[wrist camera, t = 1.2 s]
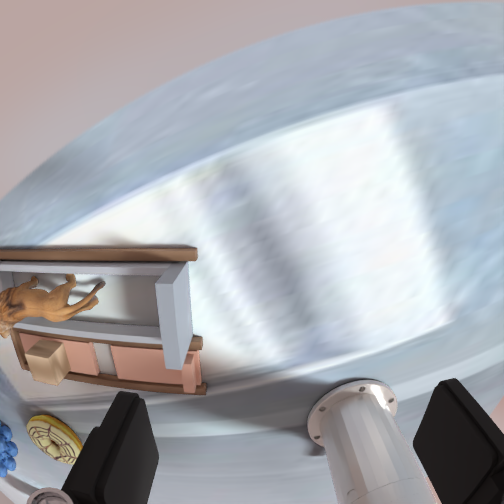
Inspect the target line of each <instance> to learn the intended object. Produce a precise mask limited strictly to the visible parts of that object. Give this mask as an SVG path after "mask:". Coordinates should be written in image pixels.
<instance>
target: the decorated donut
mask: <svg viewBox="0 0 504 504" xmlns="http://www.w3.org/2000/svg"><path fill="white" fill-rule="evenodd" d="M26 427H27V432H28V434H29V436H30V438H31V440H32V441H33V443H34V444H35V445H36V446H37V447H38V448H39V449H41V450H42V451H43V452H44V453H46V454H47V455H48V456H50V457H51V458H53V459H55V460H57V461H60V462H63V463H67V464H74V463H75V461H76V459H77V457H78V455H79V453H80V451H81V449H82V448H83V446H82V443H81V441H80V440H79V439H78V437H77V435H76V434H75V433H74V432H73V430H72V429H71V428H70V427H68V426H67V425H66V424H64V423H63V422H61V421H60V420H58V419H56V418H54V417H52V416H49V415H39V416H34V417H32V418H31V419H30V420H29V422H28V424H27V426H26Z"/></svg>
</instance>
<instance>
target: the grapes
mask: <svg viewBox="0 0 504 504" xmlns="http://www.w3.org/2000/svg"><path fill="white" fill-rule="evenodd" d="M11 438H12V432H11V430H10V429H9V427H7V426H5V425H4V426H2V427H1V421H0V477H6V475H7V469H8V470H10V471H14V470H15V468H16V462H15V460H14V458H13V457H15V456H16V455H17V453H18V449H17V446H16V444H15V443H14V442H12V441H10V440H11Z"/></svg>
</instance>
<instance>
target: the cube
mask: <svg viewBox="0 0 504 504" xmlns="http://www.w3.org/2000/svg"><path fill="white" fill-rule="evenodd" d="M25 357H26V360H27V362H28V365H29V368H30V371H31V374H32V376H33V379H34V380H35V381H39V382H43V383H47V384H51V385H56V386H58V385H59V384H60V382H61V381H62V380H63V378H64V377H65V376H66V375H67V373H68V372H69V371H70V370H71V367H70V364H69V361H68V357H67V354H66V350H65V347H64V343H62V342H55V341H49V340H43V339H40V340H39V341H38V342H37V343H35V344H34V345H33V346H32V347H31V348H30V349H29V350H28V351H27V352H26V353H25Z"/></svg>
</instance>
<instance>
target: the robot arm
mask: <svg viewBox="0 0 504 504" xmlns="http://www.w3.org/2000/svg"><path fill="white" fill-rule="evenodd" d="M396 411H397V399H396V396H395V394H394V392H393V391H392V389H391V388H390V387H389V386H388V385H386V384H384V383H382V382H379V381H375V380H359V381H354V382H350V383H347V384H344V385H341V386H339V387H337V388H335V389H333V390H332V391H330V392H329V393H327V394H326V395H324V396H323V397H322V398H321V399H320V400H319V401H318V402H317V403H316V404H315V405H314V406H313V408H312V410H311V411H310V413H309V416H308V420H307V428H308V432H309V435H310V437H311V439H312V440H313V441H314V442H315V443H317V444H318V445H320V446H323V447H324V448H325V451H326V455H327V459H328V463H329V467H330V471H331V475H332V479H333V484H334V488H335V492H336V496H337V500H338V504H438V503H437V501H436V499H435V497H434V495H433V493H432V491H431V489H430V487H429V485H428V483H427V481H426V479H425V477H424V475H423V473H422V471H421V469H420V467H419V465H418V463H417V461H416V459H415V457H414V455H413V453H412V451H411V449H410V447H409V445H408V443H407V442H406V440H405V438H404V436H403V434H402V432H401V430H400V428H399V426H398V425H397V423H396V421H395V419H394V416H395V414H396ZM413 447H414V450H415V452H416V454H417V456H418V457H419V459H420V461H421V463H422V465H423V467H424V469H425V471H426V473H427V475H428V477H429V479H430V481H431V483H432V485H433V487H434V489H435V491H436V493H437V495H438V497H439V499H440V501H441V503H442V504H504V434H503V433H502V432H501V430H500V429H499V428H498V427H497V425H496V424H495V423H494V422H493V421H492V419H491V418H490V417H489V416H488V414H487V413H486V412H485V411H484V410H483V408H482V407H481V406H480V405H479V404H478V403H477V401H476V400H475V399H474V398H473V397H472V396H471V394H470V393H469V392H468V391H467V390H466V389H465V387H464V386H463V385H462V384H461V383H460V382H459V381H458V380H457V379H456V378H453V379H448V380H444V381H440V382H439V384H438V386H436V387H435V389H434V391H433V394H432V396H431V399H430V402H429V404H428V407H427V409H426V412H425V414H424V417H423V419H422V421H421V424H420V426H419V428H418V431H417V433H416V435H415V437H414V440H413ZM158 460H159V454H158V450H157V446H156V443H155V439H154V436H153V432H152V428H151V424H150V420H149V417H148V412H147V408H146V404H145V401H144V399H142V398H139V395H138V394H137V393H130V392H123V391H120V392H118V394H117V395H116V397H115V399H114V401H113V403H112V405H111V407H110V408H109V410H108V412H107V414H106V416H105V418H104V420H103V422H102V424H101V426H100V427H95V428H93V430H92V431H91V433H90V434H89V436H88V438H87V440H86V442H85V444H84V446H83V448H82V449H81V451H80V453H79V455H78V457H77V459H76V461H75V463H74V465H73V467H72V469H71V471H70V473H69V475H68V477H67V479H66V481H65V483H64V485H63V487H62V489H61V490H59V489H56V488H50V487H49V488H42V489H39V490H36V491H35V492H34V493H32V494H31V495H30V497H29V498H28V500H27V504H147V502H148V498H149V494H150V490H151V487H152V483H153V479H154V476H155V472H156V468H157V465H158Z"/></svg>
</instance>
